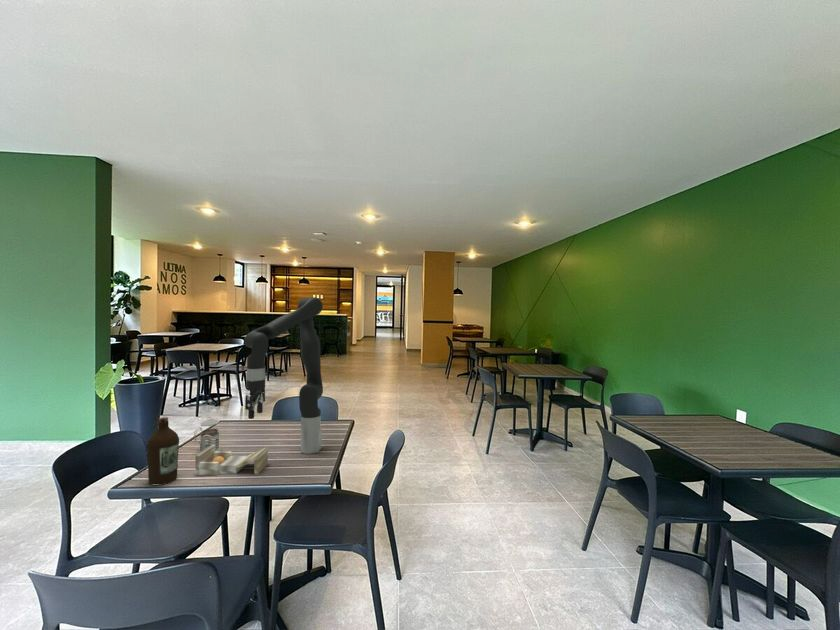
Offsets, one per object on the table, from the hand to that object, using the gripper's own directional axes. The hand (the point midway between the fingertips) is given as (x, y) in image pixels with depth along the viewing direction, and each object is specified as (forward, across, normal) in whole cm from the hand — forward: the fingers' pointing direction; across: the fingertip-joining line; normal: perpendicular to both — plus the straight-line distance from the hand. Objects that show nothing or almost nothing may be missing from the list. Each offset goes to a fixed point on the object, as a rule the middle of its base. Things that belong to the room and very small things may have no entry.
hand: (255, 415), depth 157 cm
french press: (+23, -19, -31) cm, 43 cm away
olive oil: (+23, +11, -32) cm, 41 cm away
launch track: (+23, 0, -10) cm, 25 cm away
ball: (+20, 0, -16) cm, 26 cm away
